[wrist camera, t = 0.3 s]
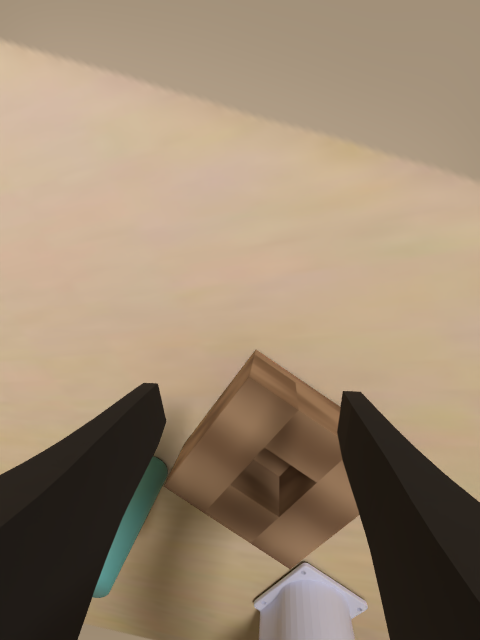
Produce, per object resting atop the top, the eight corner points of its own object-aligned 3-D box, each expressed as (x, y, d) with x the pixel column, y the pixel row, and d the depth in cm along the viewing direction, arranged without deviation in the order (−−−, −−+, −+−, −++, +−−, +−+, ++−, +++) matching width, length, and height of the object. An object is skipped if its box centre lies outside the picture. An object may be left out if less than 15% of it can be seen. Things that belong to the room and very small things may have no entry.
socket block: (288, 512, 24) (290, 569, 20) (184, 443, 24) (163, 486, 20) (377, 432, 21) (402, 480, 16) (255, 349, 20) (249, 376, 16)
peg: (158, 487, 26) (99, 604, 17) (133, 470, 26) (60, 579, 17) (173, 468, 25) (117, 583, 16) (146, 450, 25) (76, 556, 16)
